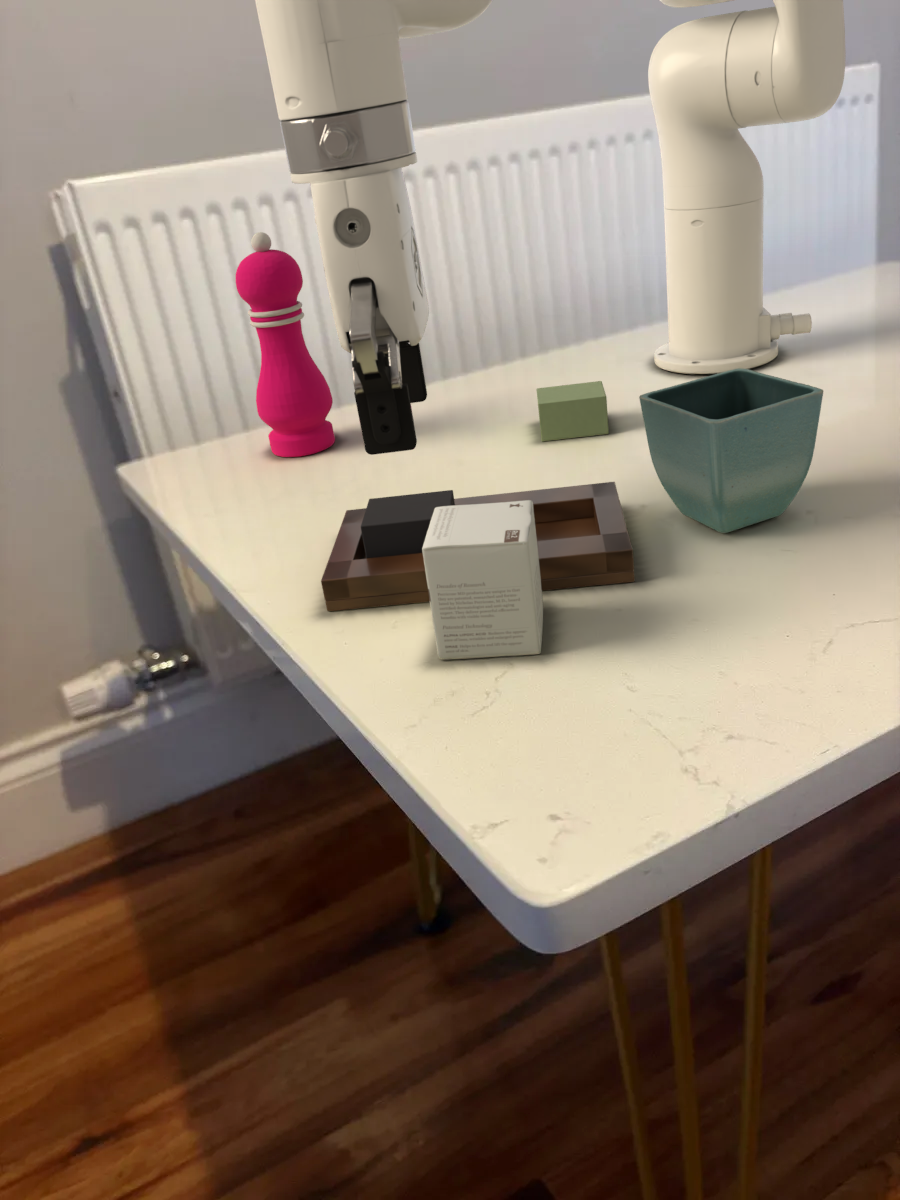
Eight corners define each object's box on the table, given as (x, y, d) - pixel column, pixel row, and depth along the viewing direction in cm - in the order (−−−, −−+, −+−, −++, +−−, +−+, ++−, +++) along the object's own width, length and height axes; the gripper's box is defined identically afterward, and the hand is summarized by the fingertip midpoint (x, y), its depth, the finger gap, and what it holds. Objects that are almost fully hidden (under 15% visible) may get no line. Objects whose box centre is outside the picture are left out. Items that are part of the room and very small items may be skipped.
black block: (459, 534, 74) (452, 489, 72) (456, 564, 69) (449, 517, 68) (377, 543, 74) (368, 498, 73) (369, 573, 70) (360, 526, 68)
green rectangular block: (604, 417, 96) (601, 380, 94) (608, 434, 91) (606, 395, 90) (539, 424, 96) (536, 388, 95) (541, 441, 92) (537, 403, 90)
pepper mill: (327, 457, 96) (283, 234, 87) (255, 461, 98) (205, 243, 89) (349, 432, 102) (310, 221, 93) (281, 436, 104) (237, 230, 95)
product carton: (448, 612, 65) (432, 505, 61) (544, 606, 64) (533, 496, 61) (437, 662, 59) (419, 547, 56) (542, 656, 59) (530, 538, 55)
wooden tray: (616, 510, 76) (614, 481, 75) (634, 582, 65) (633, 549, 64) (351, 537, 78) (346, 509, 77) (327, 612, 67) (320, 580, 66)
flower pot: (641, 513, 75) (635, 393, 71) (741, 483, 77) (741, 365, 73) (715, 553, 67) (712, 422, 63) (823, 518, 70) (827, 389, 66)
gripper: (400, 148, 52) (449, 465, 60) (423, 125, 67) (460, 380, 75) (256, 171, 53) (323, 480, 61) (311, 143, 68) (359, 393, 76)
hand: (399, 425), depth 68 cm, fingers open, 9 cm apart
